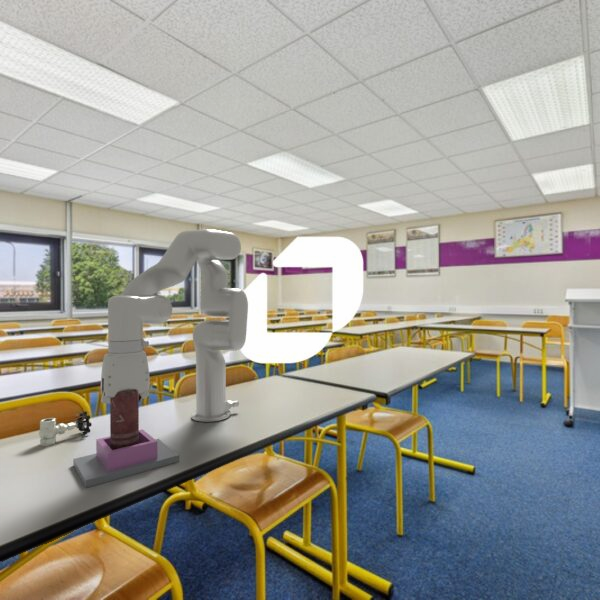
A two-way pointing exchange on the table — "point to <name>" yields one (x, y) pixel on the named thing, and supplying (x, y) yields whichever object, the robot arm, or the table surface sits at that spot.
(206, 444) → the table surface
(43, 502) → the table surface
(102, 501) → the table surface
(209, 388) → the robot arm
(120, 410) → the can
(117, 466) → the cup holder
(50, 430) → the valve
